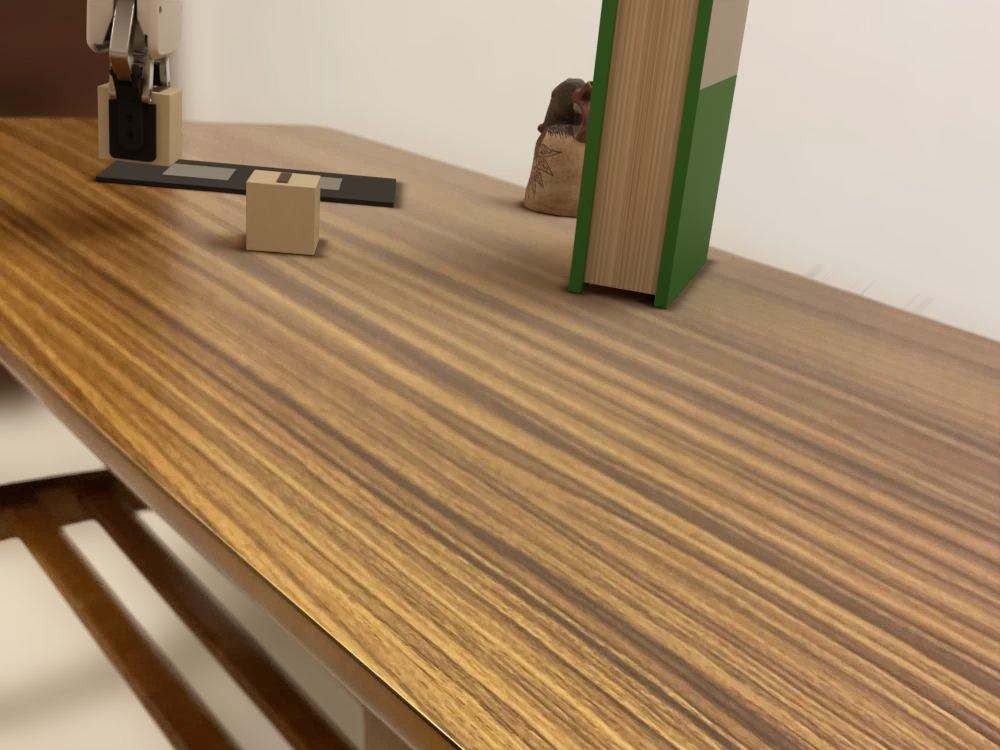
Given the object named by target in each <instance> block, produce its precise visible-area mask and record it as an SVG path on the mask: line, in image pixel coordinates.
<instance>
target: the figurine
mask: <svg viewBox="0 0 1000 750" xmlns="http://www.w3.org/2000/svg"><path fill="white" fill-rule="evenodd" d="M592 84H593V80H588V81H587V82H585V80H584V79H582V78H579V77H578V78H576V77H575V78H573V77H568V78H566V79H565V80H563V81H562V82H560V83H559V84H558V85H557V86H555V87H554V88H553V89H552V91H551V95H550V100H549V103H548V105H547V109H546V112H545V116H544V119H543V122H542V123H539V124H538V126H537V131H538V133H540V134H539V136H538V138H537V139H536V142H535V145H534V150H533V158H532V159H533V160H532V163H531V169H530V174H529V178H528V181H527V184H526V187H525V192H524V198H523V202H524V207H526V208H527V209H529V210H532V211H534V212H538V213H543V214H548V215H553V216H559V217H570V218H571V217H574V218H577V212H578V204H579V195H580V187H581V178H582V169H583V161H584V152H585V144H586V135H587V127H588V118H589V110H590V101H591V93H592Z"/></svg>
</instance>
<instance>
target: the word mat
mask: <svg viewBox="0 0 1000 750" xmlns="http://www.w3.org/2000/svg"><path fill="white" fill-rule="evenodd" d="M254 170H263V171H274V172H285V173H296V174H307V175H318V176H321V181H320V202H329V203H341V204H342V203H343V204H355V205H364V206H377V207H386V208H387V207H390V208H394V205H395V197H396V188H397V178H393V177H381V176H371V175H370V176H368V175H360V174H359V175H358V174H350V173H349V174H348V173H336V172H327V171H316V170H304V169H292V168H282V167H272V166H260V165H248V164H237V163H236V164H235V163H228V162H227V163H225V162H217V161H215V162H214V161H205V160H204V161H203V160H195V159H183V158H180V159H179V160H177V161H176V162H175V163H173V164H172V165H171V166H169V167H167V166H159V165H150V164H141V163H133V162H124V161H114V162H113V163H111V164H110V165H109V166H108V167H106V168H105V169H104V170H102V171H101V172H100V173H98V174H97V175H96V176H95V181H96V182H103V183H116V184H117V183H118V184H127V185H139V186H150V187H161V188H172V189H183V190H184V189H185V190H196V191H206V192H219V193H229V194H239V195H240V194H242V195H246V182H247V180H248V179H249V177H250V176H251V174H252V173H253V172H254Z"/></svg>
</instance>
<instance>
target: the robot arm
mask: <svg viewBox="0 0 1000 750" xmlns="http://www.w3.org/2000/svg"><path fill="white" fill-rule="evenodd" d="M182 3H183V0H86V44H87V46H88V48H89V49H91V51H92V52H94V53H96V54H97V53H98V54H102V53H106V52H108V58H109V76H108V77H109V78H108V83H109V98H110V99H109V153H110V155H111V157H113V158H117V159H126V160H135V161H143V162H153V161H154V160H155V159H156V156H157V104H151V102H152V88H153V86H165V87H169V88H171V70H170V69H171V68H170V55H172V54H174V53H175V52H177V51H178V50H179V47H180V43H181V35H182V33H181V32H182V13H183V11H182V9H183V8H182V7H183V5H182Z"/></svg>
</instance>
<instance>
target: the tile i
mask: <svg viewBox="0 0 1000 750" xmlns="http://www.w3.org/2000/svg"><path fill="white" fill-rule="evenodd" d="M320 181H321V176H318V175H307V174H296V173H285V172H274V171H263V170H254V172H253V173H252V174H251V176H250V177H249V179H248V180H247V182H246V194H245V211H246V212H245V250H247V251H255V252H256V251H257V252H268V253H278V254H279V253H281V254H293V255H302V256H303V255H305V256H314V255H315V253H316V250H317V247H318V244H319V241H320V215H321V201H320Z"/></svg>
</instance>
